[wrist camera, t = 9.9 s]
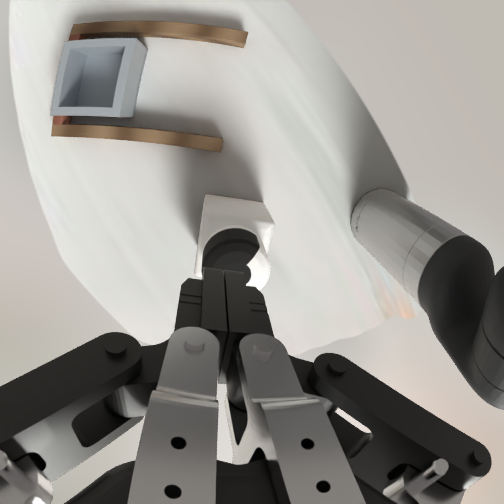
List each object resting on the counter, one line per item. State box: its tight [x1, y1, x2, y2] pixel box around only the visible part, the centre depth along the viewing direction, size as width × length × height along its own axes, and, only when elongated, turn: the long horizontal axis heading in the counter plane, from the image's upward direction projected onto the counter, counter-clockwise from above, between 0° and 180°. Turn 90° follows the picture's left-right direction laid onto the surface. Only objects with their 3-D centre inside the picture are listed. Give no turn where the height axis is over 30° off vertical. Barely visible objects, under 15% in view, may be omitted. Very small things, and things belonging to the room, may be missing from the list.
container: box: [194, 194, 275, 290], centre depth 33 cm, size 8×8×13 cm
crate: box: [50, 38, 148, 117], centre depth 26 cm, size 9×9×6 cm
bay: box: [51, 21, 248, 152], centre depth 28 cm, size 22×15×2 cm
